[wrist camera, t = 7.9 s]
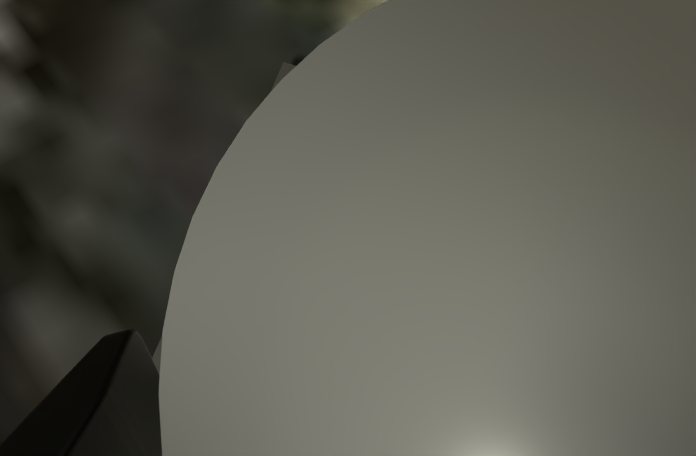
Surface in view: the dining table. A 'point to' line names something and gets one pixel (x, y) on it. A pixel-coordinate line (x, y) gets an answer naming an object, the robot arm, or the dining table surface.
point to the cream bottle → (451, 243)
